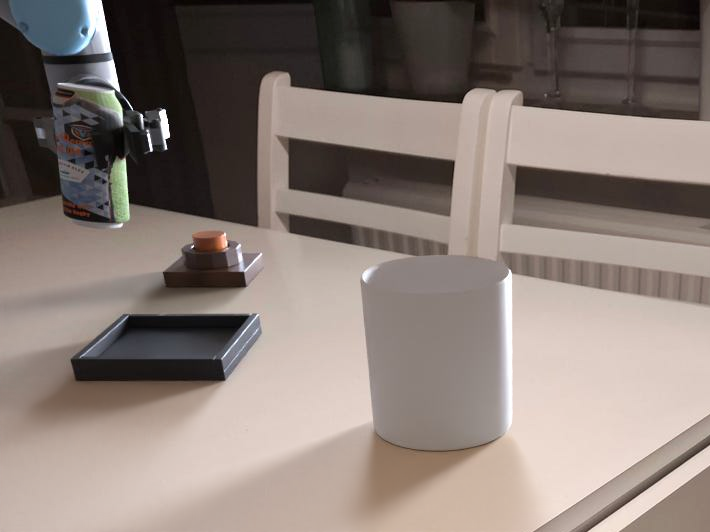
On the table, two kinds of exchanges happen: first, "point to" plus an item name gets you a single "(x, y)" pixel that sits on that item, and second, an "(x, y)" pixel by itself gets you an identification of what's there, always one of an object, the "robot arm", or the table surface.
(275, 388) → the table surface
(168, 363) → the tray
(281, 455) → the table surface
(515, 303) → the table surface
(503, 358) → the white cylinder
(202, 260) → the block
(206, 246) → the button
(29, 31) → the robot arm
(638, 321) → the table surface
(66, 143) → the beverage can
